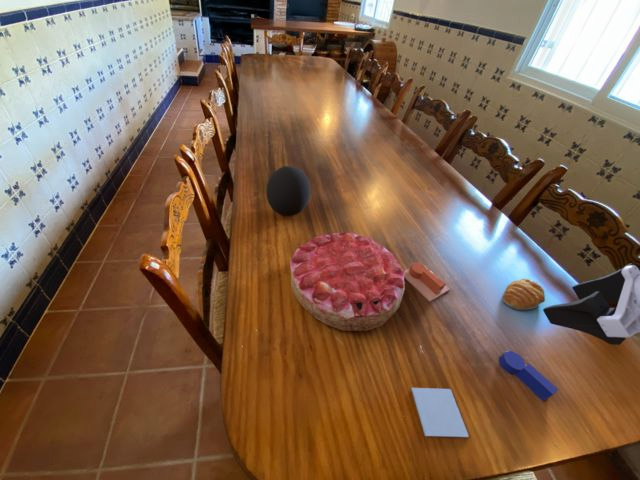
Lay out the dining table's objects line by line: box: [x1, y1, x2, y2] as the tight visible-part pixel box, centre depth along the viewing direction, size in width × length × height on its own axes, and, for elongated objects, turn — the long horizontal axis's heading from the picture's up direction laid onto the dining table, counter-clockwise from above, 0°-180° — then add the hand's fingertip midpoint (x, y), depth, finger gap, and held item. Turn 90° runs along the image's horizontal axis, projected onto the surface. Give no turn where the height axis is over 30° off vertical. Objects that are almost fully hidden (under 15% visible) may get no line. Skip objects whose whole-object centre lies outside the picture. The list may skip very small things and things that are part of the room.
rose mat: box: [404, 267, 450, 303], centre depth 71 cm, size 9×7×1 cm
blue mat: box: [410, 387, 470, 439], centre depth 49 cm, size 7×7×1 cm
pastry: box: [502, 278, 546, 311], centre depth 68 cm, size 9×7×4 cm
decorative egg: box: [265, 165, 312, 217], centre depth 83 cm, size 12×12×15 cm
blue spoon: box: [498, 350, 559, 402], centre depth 54 cm, size 8×4×3 cm, turn 30°
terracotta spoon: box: [408, 261, 447, 295], centre depth 70 cm, size 8×4×3 cm, turn 30°
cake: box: [289, 231, 406, 332], centre depth 66 cm, size 25×25×8 cm
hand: (562, 304), depth 42 cm, fingers open, 7 cm apart
